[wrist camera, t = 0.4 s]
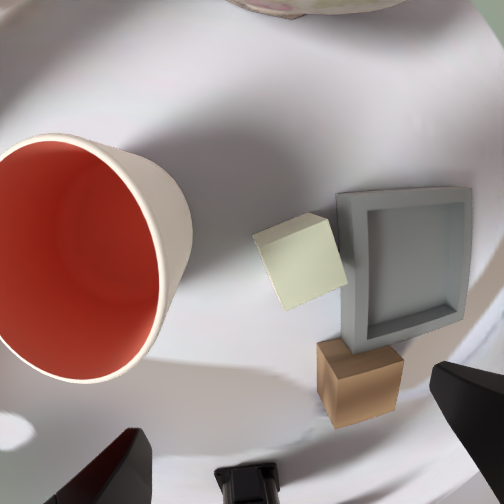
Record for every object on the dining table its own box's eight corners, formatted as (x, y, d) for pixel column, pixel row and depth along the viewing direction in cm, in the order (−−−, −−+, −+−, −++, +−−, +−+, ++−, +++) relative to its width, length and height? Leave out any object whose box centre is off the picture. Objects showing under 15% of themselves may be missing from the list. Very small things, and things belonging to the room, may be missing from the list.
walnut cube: (369, 376, 23) (394, 410, 19) (316, 390, 23) (334, 429, 18) (373, 329, 22) (404, 360, 17) (316, 342, 22) (338, 379, 17)
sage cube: (325, 265, 21) (347, 283, 17) (273, 287, 20) (284, 311, 17) (307, 212, 20) (327, 219, 16) (251, 234, 20) (259, 247, 16)
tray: (446, 308, 23) (463, 319, 20) (340, 338, 22) (353, 354, 19) (451, 186, 20) (471, 188, 18) (335, 193, 19) (351, 195, 17)
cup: (202, 159, 18) (181, 132, 8) (189, 308, 20) (168, 403, 10) (65, 154, 17) (-33, 143, 7) (63, 290, 19) (-15, 355, 9)
